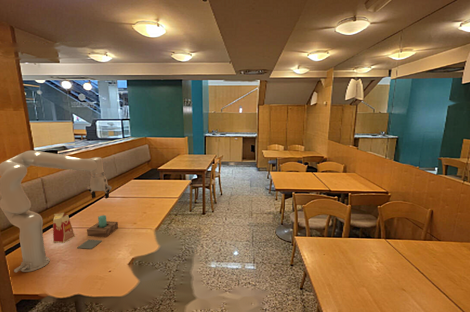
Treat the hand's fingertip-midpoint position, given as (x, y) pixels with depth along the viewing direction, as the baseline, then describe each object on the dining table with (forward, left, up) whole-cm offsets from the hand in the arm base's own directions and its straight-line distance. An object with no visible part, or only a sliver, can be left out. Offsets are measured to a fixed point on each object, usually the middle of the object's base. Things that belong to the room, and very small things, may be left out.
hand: (100, 197), depth 158 cm
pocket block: (+2, +2, -27) cm, 27 cm away
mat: (-15, -1, -27) cm, 31 cm away
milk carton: (-11, +22, -27) cm, 37 cm away
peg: (+2, +2, -27) cm, 27 cm away
